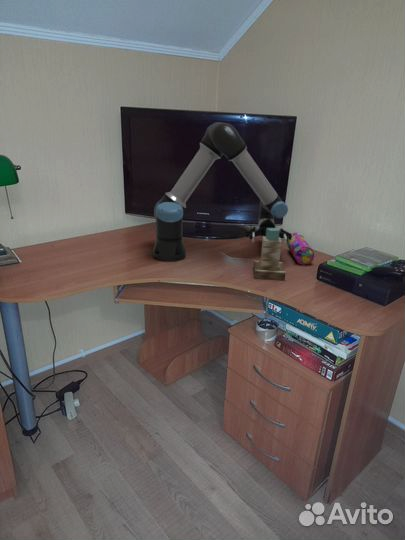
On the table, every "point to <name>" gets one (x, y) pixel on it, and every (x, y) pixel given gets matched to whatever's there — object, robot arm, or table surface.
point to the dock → (269, 272)
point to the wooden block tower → (270, 254)
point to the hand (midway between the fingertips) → (269, 240)
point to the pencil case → (300, 249)
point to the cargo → (272, 234)
